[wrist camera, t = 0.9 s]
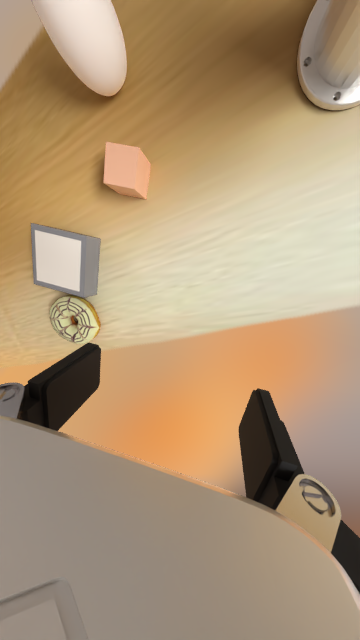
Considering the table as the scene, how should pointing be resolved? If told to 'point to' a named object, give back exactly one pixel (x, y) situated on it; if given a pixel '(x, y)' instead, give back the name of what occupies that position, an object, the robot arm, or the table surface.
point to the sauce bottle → (87, 40)
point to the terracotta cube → (126, 170)
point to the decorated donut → (66, 324)
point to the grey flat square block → (65, 260)
